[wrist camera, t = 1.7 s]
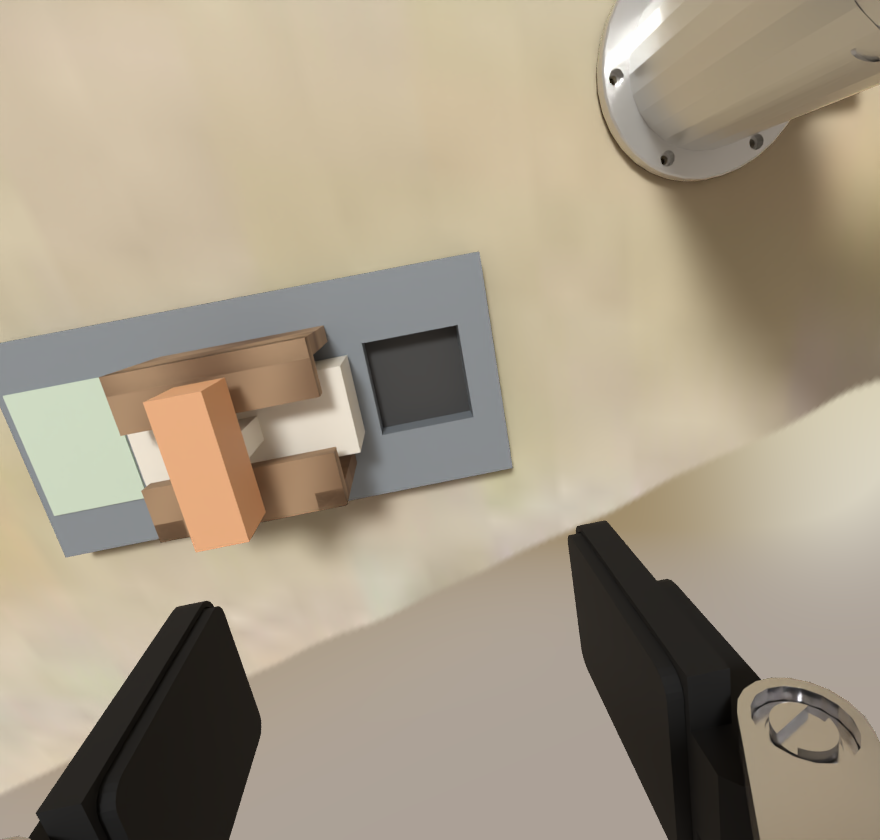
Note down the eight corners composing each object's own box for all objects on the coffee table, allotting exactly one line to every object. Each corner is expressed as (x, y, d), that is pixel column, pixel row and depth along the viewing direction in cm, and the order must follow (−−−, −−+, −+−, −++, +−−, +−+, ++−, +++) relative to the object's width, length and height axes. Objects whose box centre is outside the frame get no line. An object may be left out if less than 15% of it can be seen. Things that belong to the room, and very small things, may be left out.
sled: (343, 338, 31) (316, 368, 21) (368, 446, 33) (355, 520, 23) (146, 377, 31) (25, 425, 21) (183, 483, 33) (88, 573, 23)
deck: (474, 253, 33) (479, 251, 31) (506, 457, 37) (513, 468, 35) (-1, 343, 32) (-28, 348, 30) (83, 542, 36) (64, 558, 34)
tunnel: (323, 325, 31) (304, 337, 25) (357, 462, 34) (347, 505, 28) (159, 357, 31) (98, 377, 25) (204, 492, 34) (160, 542, 27)
